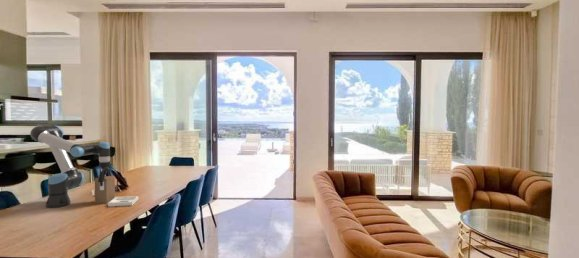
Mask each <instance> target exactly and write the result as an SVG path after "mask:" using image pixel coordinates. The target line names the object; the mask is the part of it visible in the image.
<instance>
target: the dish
mask: <svg viewBox="0 0 579 258" xmlns="http://www.w3.org/2000/svg"><path fill="white" fill-rule="evenodd" d="M137 200H138V201H139V195H136V196H135V195H133V196H132V195H131V196H129V195H128V196H115V198H114V199H112V200H111V201H110V202H109V203H107V207H109V208H111V207H113V208H116V207H115V206H117V207H133V206H132V205H133V204H134V203H135V202H136V201H137ZM138 201H137V202H138ZM137 202H136V203H137ZM136 203H135V204H136ZM135 204H134V205H135Z"/></svg>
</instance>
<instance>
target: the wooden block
mask: <svg viewBox="0 0 579 258" xmlns="http://www.w3.org/2000/svg"><path fill="white" fill-rule="evenodd" d="M115 179H116V178H115V176H113V175H111V176H106V175H105V177H104V181H103V182H104V190H100V182H98V180H99V176H98V177H95V178H94V204H104V205H105V204H106V205H108V203H109V202H110V201H111V200H112V199H114V198H115V197H116V195H115V194H116V192H115V191H116V190H115V189H116V188H115V185H116V183H115Z"/></svg>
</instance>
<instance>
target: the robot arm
mask: <svg viewBox="0 0 579 258" xmlns="http://www.w3.org/2000/svg"><path fill="white" fill-rule="evenodd" d="M29 135H30V138H31V139H32V140H34V141H35V142H38V143H41V144H44V143H45V144H46V145H48V146H49V148H50V150H51V153H52V155H53V157H54V159H55V161H56V163H57V165H58V168H59V170H60V173H55V174H52V175H50V176H49V177H48V181H47V185H48V187H47V189H48V197H47V200H46V202H45V207H46V208H49V209H52V208H53V209H55V208H62V207H66V206H69V205H70V204H71V203H72V201H71V198H70V197H69V194H68V193H69V192H68V189H72V188H76V187H79V186H81V185H82V184H84V181H85V175H84V172H81V171H79V170H78V168H77V167H74V165H73V163H72V160H71V158H70V156H69V154H68V153H70V155H71V156H72V157H74V158H76V157H77V158H79V157H82V156H83V157H84V156H89V155H98V162H99V163H98V164H99V165H98V167H100V169H99V174H98V175H99V176H98V177H99V180H98V182H100V190H104V182H103V181H104V177H105V176H112V171H111V168H110V166H111V147H110V146H111V145H110V143H109V141H103V142H101V141H100V142H98V144H85V145H79V144H76V143H74V142H73V141H70V140H66V139H64V138H63V136H64V130H63V129H62V127H60V126H59V125H55V124H49V125H48V124H47V125H36V126H34V127H33V128H32V129H31V130H30V133H29Z"/></svg>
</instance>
